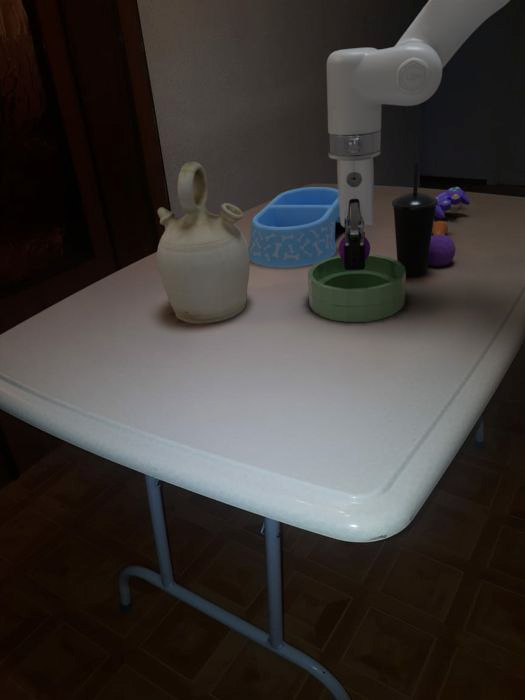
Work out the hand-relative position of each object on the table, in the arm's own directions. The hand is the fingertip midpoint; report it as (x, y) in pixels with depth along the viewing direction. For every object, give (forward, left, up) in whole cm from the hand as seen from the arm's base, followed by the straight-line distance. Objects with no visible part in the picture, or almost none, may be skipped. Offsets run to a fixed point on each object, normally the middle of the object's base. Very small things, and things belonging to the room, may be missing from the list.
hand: (354, 261), depth 90 cm
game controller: (-20, -47, -8) cm, 52 cm away
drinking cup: (-10, -12, -8) cm, 18 cm away
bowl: (0, 0, -8) cm, 8 cm away
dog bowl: (+12, -33, -8) cm, 36 cm away
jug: (+25, +1, -8) cm, 26 cm away
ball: (0, 0, +2) cm, 2 cm away
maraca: (-16, -23, -8) cm, 29 cm away
